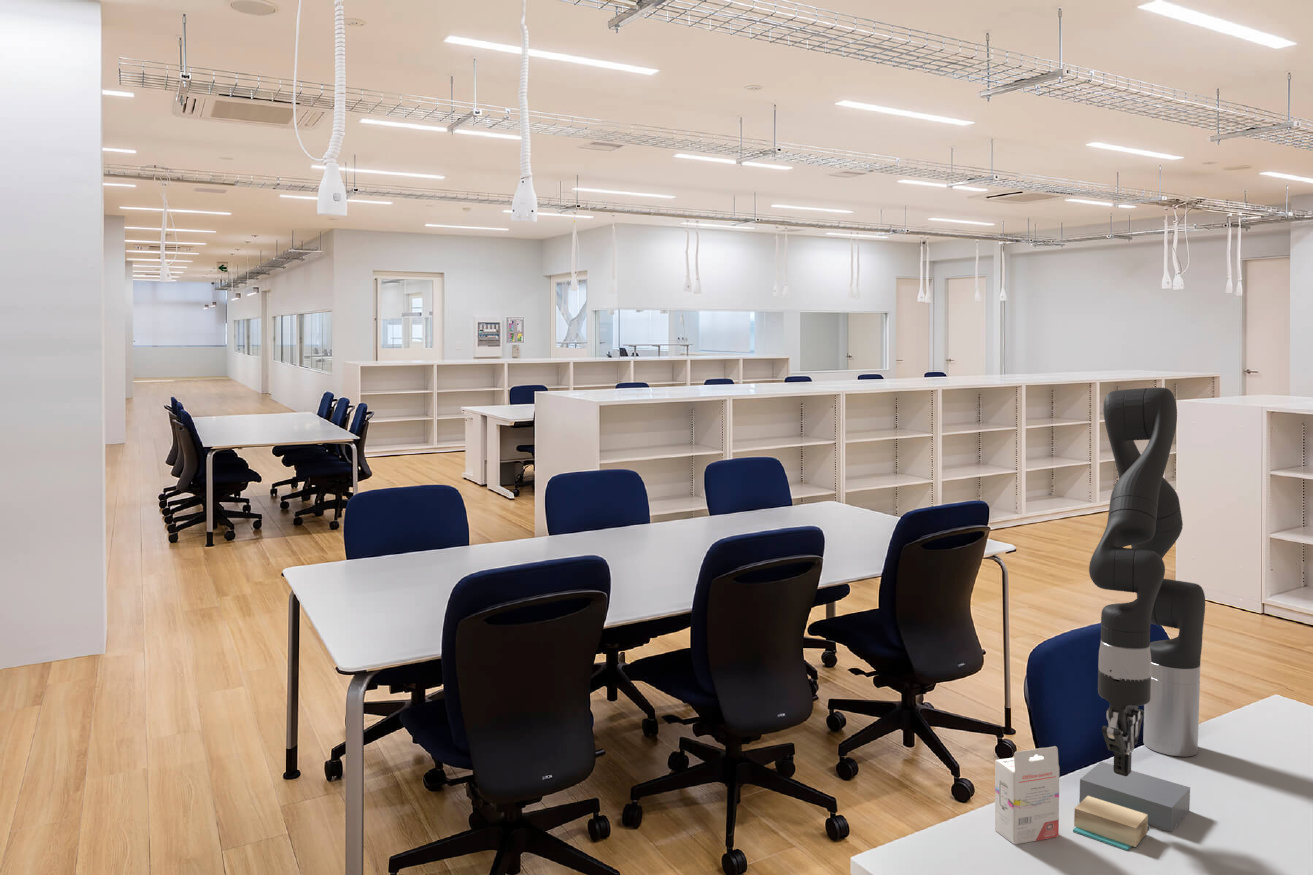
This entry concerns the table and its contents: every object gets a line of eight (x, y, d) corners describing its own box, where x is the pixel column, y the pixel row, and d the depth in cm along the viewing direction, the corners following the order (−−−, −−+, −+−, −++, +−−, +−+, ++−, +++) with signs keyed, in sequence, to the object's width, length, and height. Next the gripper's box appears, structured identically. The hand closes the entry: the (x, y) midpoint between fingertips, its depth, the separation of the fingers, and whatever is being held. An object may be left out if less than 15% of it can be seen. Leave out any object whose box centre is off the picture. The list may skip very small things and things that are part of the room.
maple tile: (1074, 808, 138) (1074, 826, 138) (1136, 828, 132) (1135, 846, 132) (1087, 795, 142) (1087, 812, 142) (1147, 814, 136) (1147, 832, 136)
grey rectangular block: (1100, 783, 154) (1101, 761, 154) (1189, 810, 144) (1190, 787, 144) (1079, 801, 147) (1079, 779, 147) (1171, 831, 137) (1171, 807, 137)
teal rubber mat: (1095, 809, 144) (1095, 808, 144) (1148, 827, 138) (1148, 825, 138) (1072, 831, 137) (1072, 829, 137) (1127, 850, 131) (1127, 848, 131)
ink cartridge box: (1037, 822, 140) (1039, 734, 139) (1059, 837, 135) (1061, 746, 135) (992, 829, 138) (994, 740, 137) (1013, 845, 133) (1015, 753, 132)
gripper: (1113, 655, 146) (1111, 753, 147) (1084, 674, 137) (1082, 779, 138) (1162, 665, 141) (1160, 767, 142) (1136, 685, 132) (1133, 795, 133)
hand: (1122, 773), depth 140 cm, fingers closed
